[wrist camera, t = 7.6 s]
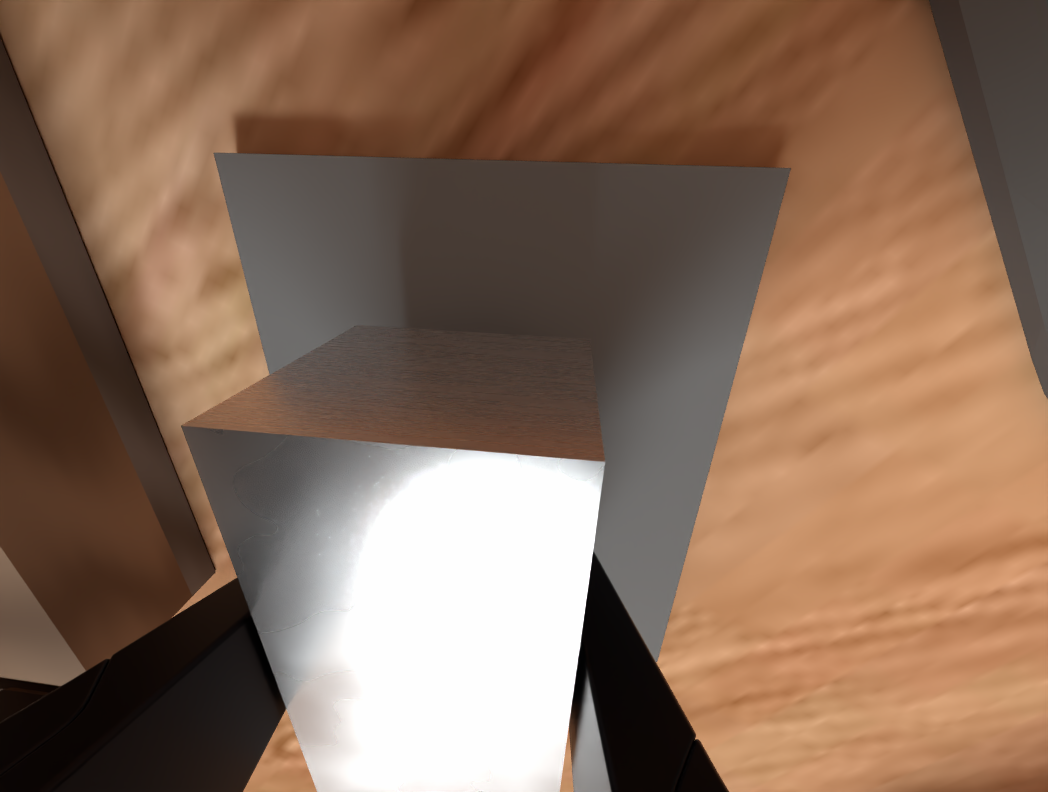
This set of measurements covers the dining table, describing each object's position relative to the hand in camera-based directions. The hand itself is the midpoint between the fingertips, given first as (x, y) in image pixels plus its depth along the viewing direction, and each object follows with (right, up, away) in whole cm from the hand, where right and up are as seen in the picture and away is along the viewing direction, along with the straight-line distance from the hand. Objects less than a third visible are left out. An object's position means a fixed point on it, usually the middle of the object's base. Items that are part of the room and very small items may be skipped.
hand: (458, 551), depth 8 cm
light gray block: (0, +1, +1) cm, 2 cm away
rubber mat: (0, +1, +3) cm, 4 cm away
